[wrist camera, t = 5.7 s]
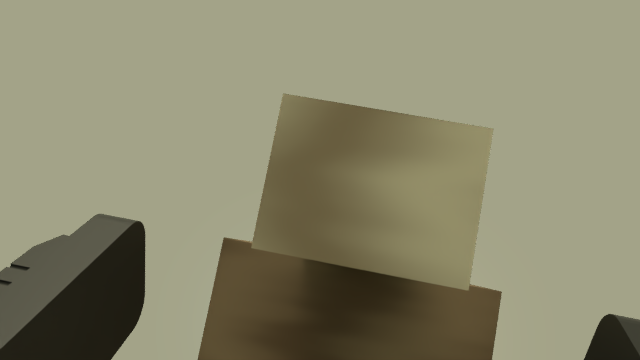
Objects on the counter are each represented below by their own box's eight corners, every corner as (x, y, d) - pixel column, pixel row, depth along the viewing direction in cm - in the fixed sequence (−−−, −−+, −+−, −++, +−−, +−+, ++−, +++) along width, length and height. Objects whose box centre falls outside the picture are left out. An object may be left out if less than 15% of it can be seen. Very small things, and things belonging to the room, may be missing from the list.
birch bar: (251, 248, 10) (322, -96, 11) (321, 254, 30) (345, 132, 31) (468, 291, 10) (524, -69, 11) (394, 268, 29) (415, 144, 30)
